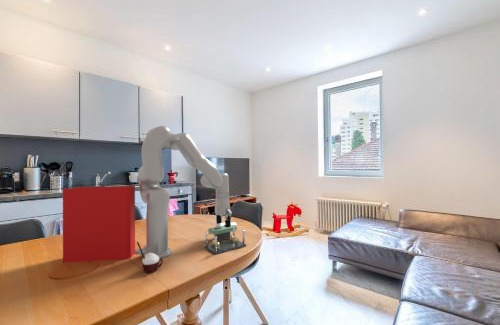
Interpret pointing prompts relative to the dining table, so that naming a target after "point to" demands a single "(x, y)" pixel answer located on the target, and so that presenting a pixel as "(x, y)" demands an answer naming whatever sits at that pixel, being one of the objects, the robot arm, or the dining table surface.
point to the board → (220, 230)
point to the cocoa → (150, 261)
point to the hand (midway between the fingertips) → (223, 225)
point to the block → (223, 236)
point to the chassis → (225, 244)
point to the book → (98, 223)
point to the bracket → (224, 224)
